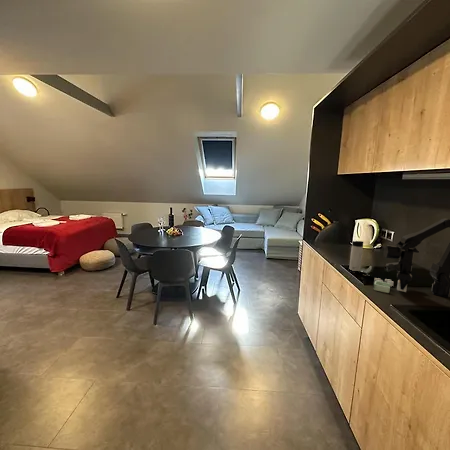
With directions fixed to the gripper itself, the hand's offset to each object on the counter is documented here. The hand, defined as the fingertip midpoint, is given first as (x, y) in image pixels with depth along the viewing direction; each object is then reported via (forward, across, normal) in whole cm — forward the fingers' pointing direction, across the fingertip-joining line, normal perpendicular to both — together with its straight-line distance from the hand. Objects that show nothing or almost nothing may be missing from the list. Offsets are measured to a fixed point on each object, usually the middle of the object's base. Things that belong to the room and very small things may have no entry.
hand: (401, 288), depth 142 cm
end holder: (+1, +6, -9) cm, 11 cm away
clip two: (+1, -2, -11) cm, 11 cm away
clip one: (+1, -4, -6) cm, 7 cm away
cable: (+1, -3, -8) cm, 9 cm away
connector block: (+1, 0, 0) cm, 1 cm away
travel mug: (+1, -18, -25) cm, 31 cm away
